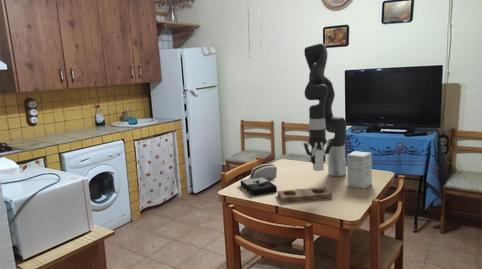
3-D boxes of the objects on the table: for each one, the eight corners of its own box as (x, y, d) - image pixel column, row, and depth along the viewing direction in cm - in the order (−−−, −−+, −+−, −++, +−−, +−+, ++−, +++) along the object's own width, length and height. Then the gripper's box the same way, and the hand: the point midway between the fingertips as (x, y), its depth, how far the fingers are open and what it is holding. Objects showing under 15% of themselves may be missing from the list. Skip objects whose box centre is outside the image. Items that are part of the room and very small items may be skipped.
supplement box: (372, 184, 189) (372, 152, 186) (364, 189, 183) (364, 156, 180) (354, 181, 196) (354, 150, 193) (346, 185, 189) (346, 154, 186)
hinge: (271, 174, 216) (274, 160, 211) (276, 179, 212) (279, 164, 208) (247, 180, 208) (249, 165, 203) (252, 185, 204) (254, 170, 199)
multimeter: (253, 197, 181) (252, 187, 180) (240, 186, 199) (239, 177, 198) (277, 192, 186) (276, 183, 185) (262, 182, 203) (262, 174, 203)
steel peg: (321, 168, 176) (320, 148, 174) (323, 170, 172) (323, 149, 171) (313, 168, 176) (312, 148, 174) (315, 171, 172) (314, 150, 170)
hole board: (325, 191, 182) (325, 186, 181) (331, 198, 172) (331, 193, 171) (277, 195, 180) (277, 190, 180) (281, 203, 170) (281, 197, 170)
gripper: (329, 125, 175) (330, 160, 178) (300, 127, 174) (301, 162, 177) (334, 127, 167) (335, 163, 170) (304, 130, 166) (305, 166, 169)
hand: (318, 162), depth 174 cm, fingers closed on steel peg, 4 cm apart
